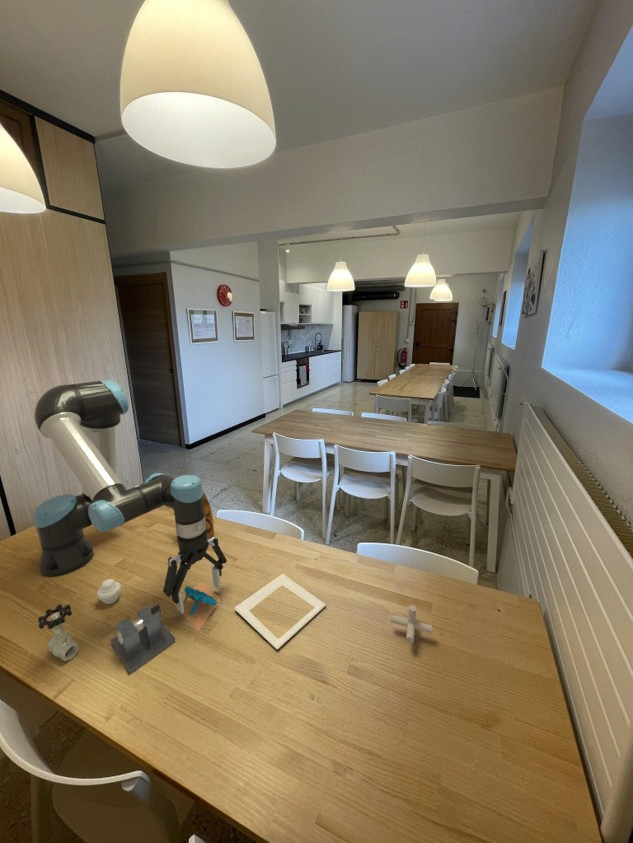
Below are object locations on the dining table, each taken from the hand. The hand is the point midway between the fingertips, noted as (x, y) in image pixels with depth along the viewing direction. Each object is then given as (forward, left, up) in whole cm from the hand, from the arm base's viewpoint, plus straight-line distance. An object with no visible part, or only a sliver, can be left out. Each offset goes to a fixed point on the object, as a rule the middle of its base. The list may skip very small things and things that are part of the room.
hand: (199, 597), depth 95 cm
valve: (-12, -30, -3) cm, 32 cm away
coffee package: (-29, +16, -3) cm, 33 cm away
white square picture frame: (+19, +14, -3) cm, 24 cm away
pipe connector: (+51, +30, -3) cm, 59 cm away
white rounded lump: (-22, -16, -3) cm, 27 cm away
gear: (0, +2, -4) cm, 4 cm away
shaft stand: (0, -16, -3) cm, 16 cm away
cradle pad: (0, 0, -3) cm, 3 cm away
